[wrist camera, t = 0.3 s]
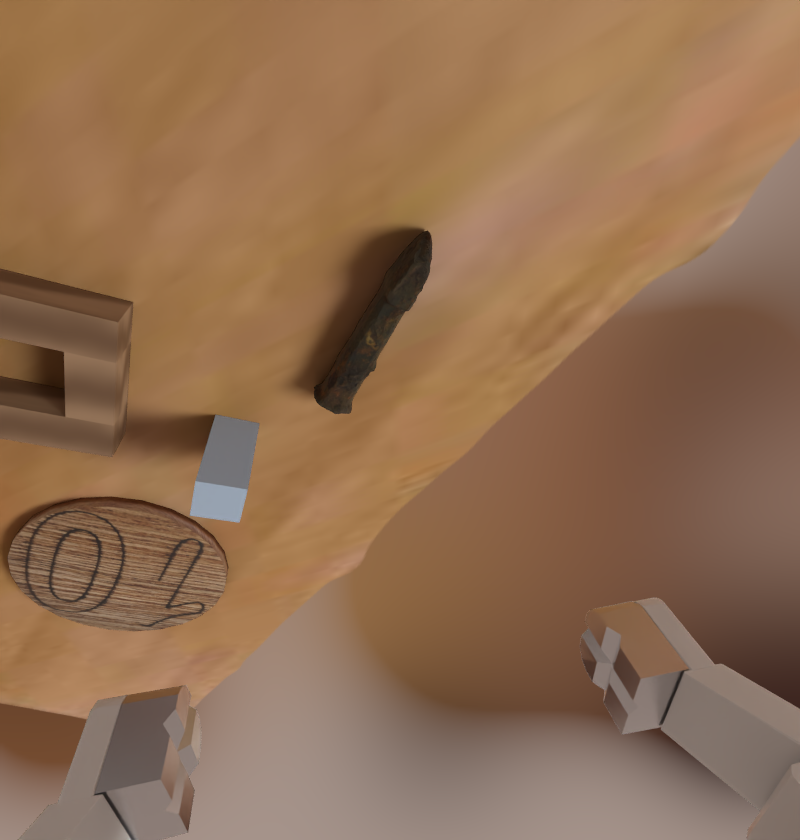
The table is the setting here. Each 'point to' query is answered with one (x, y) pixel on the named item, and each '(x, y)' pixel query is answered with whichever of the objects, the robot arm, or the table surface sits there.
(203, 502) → the square post
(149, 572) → the trivet
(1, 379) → the walnut holder
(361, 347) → the hand tool
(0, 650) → the table surface
